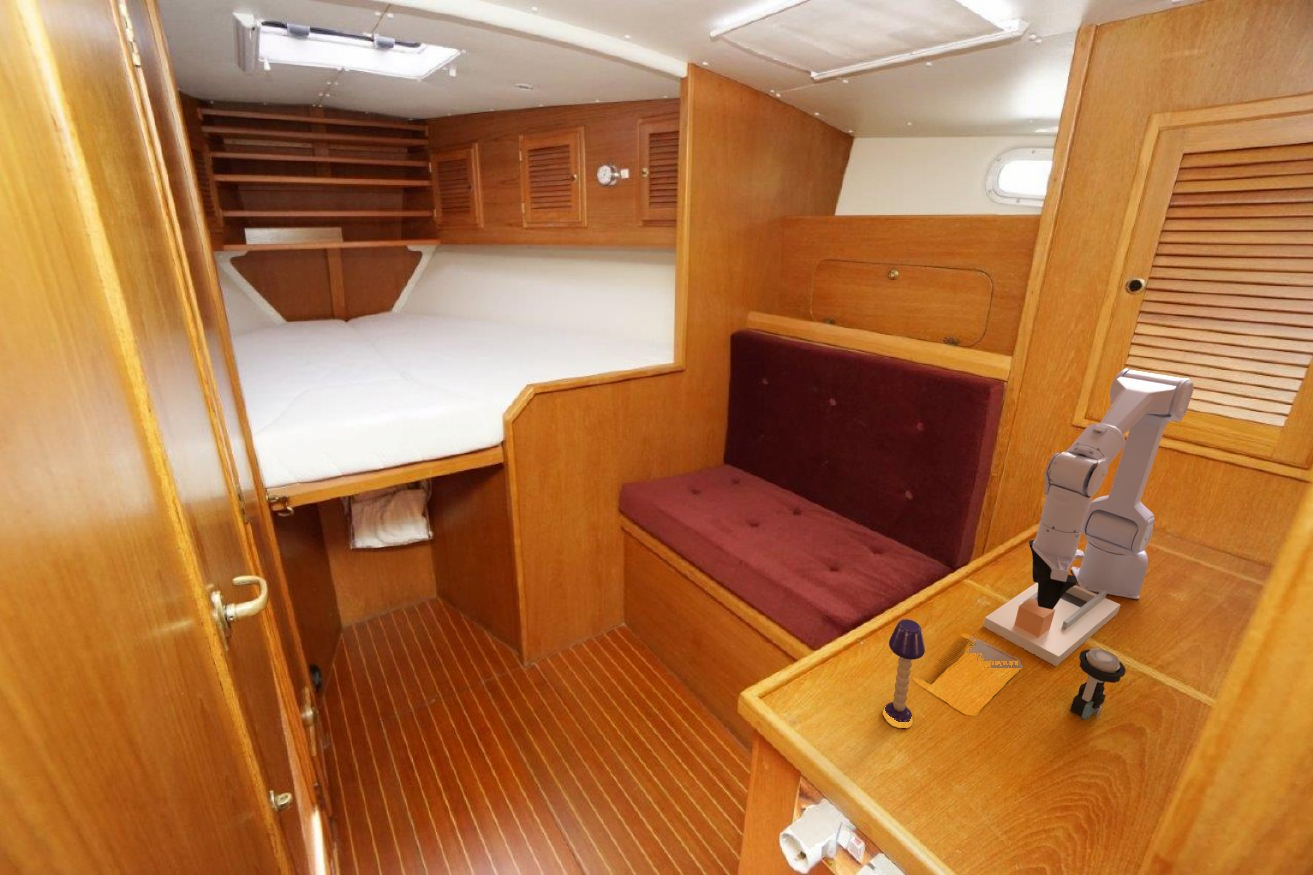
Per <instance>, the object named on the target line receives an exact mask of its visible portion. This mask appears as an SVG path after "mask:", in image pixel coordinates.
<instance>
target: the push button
mask: <svg viewBox="0 0 1313 875" xmlns="http://www.w3.org/2000/svg"><path fill="white" fill-rule="evenodd" d="M1078 659H1079V661H1080V662H1079V667H1080V669H1081V670H1082V672H1084V673H1085V674H1087V676H1088V677H1087V680H1086V681H1085V682H1084V683H1082V684H1080V686H1079V689H1078V694H1076V695H1075V696H1074V697H1073V699H1072V701H1071V705H1070V709H1069V710H1070V712H1072V713H1074V714H1075V715H1076V716H1078V717H1080V718H1081V719H1083V720H1085V721H1086V720H1088V719H1089V718H1090V717H1092V715H1093V714H1095V713H1096V712H1097V713H1096V715H1095V717H1096V718H1099V716H1100V715H1101V713H1102V710H1103V706H1102V705H1103V704H1104V703H1105V699H1106V697H1107V696H1106V694H1105V692H1104V691H1105V689H1106V688H1105V683H1111V684H1116V683H1118V682H1120V681H1121V678H1123V677H1124V676H1125V674H1126V671H1127V670H1126V666H1125V665H1124V664H1123V663H1122V662H1121V661H1120V660H1119V659H1120V658H1118V657H1117V655H1115V654H1114V653H1112V652H1111V651H1108V650H1105V649H1103V648H1097V647H1094V648H1090V649H1084V650H1082V651H1080V652H1079V655H1078Z"/></svg>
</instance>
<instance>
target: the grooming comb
mask: <svg viewBox="0 0 1313 875" xmlns="http://www.w3.org/2000/svg"><path fill="white" fill-rule="evenodd" d="M969 639H971V640H972V639H974V640H975V639H976V641H974V640H972V641H974V643H975V644H974V643H972V642H970V641H969V642H970V643H972V644H974V645H975V646H974V645H972V644H970V643H969V644H970V645H971V646H974V647H971V648H972V649H971V650H970V649H969V652H967V653H976V655H977V653H979V655H978V657H979V656H981V655H980V653H982V656H983V657H982V656H981V658H984V660H983V661H990V660H991V661H994V665H992V662H991V668H1008V667H1009V668H1023V669H1024V667H1023V664H1022V662H1021V660H1020V659H1019V658H1017V657H1015V656H1014V655H1011V654H1009V653H1008V652H1006V651H1004V650H1003V649H1000V648H998V647H995V646H994V645H991V644H989V643H987V642H985V641H983V640H981V639H979V638H976V637H975V638H974V636H972V638H971V637H969ZM978 639H979V640H978ZM970 645H969V646H970ZM962 650H963V649H962ZM963 651H964V650H963ZM963 651H962V652H963ZM977 661H978V658H977ZM981 661H982V660H981ZM995 661H1000V663H1001V661H1007V664H1008V665H1006V664H1005V665H1003V662H1002V663H1001V665H1002V666H1000V664H998V665H995ZM1009 661H1018V666H1017V665H1015V662H1013V665H1012V667H1011V665H1009ZM984 668H985V667H984ZM987 668H988V667H987Z"/></svg>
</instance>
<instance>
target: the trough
mask: <svg viewBox="0 0 1313 875" xmlns="http://www.w3.org/2000/svg"><path fill="white" fill-rule="evenodd" d="M1037 594H1038V583H1036V582H1034V584H1032V585H1031V586H1029V587H1027V588H1026V589H1025V590H1024V591H1021V593H1019V594H1017V595H1016V596H1015V597H1013V598H1011V599H1010V600H1008V601H1006V603H1004V604H1002V605H1001V606H1000V607H999V608H997V609H995V610H994V611H992V612H991V613H989V614H988V615H986V616H985V617H984V621H983V625H982V627H983V628H985V627H986V628H985V629H987V630H989V631H991V632H993V633H994V632H995V633H994V634H996V633H997V634H996V635H998V636H1000V637H1001V636H1002V637H1001V638H1003V637H1004V638H1003V639H1004V640H1007V641H1009V642H1011V643H1013V644H1014V645H1016V646H1018V647H1019V648H1022V647H1023V648H1024V649H1023V648H1022V649H1023V650H1025V649H1026V650H1025V651H1027V650H1028V651H1027V652H1029V653H1031V654H1033V655H1034V654H1035V655H1034V656H1037V657H1038V658H1040V659H1042V660H1043V661H1046V662H1048V663H1049V664H1051V665H1053V666H1055V667H1057V666H1058V665H1059V664H1061V663H1062V662H1063V661H1064V660H1065V659H1067V658H1068V657H1069V656H1070V655H1071V654H1072V653H1074V652H1075V651H1076V650H1077V649H1078V648H1079V647H1080V646H1081V645H1083V644H1084V643H1085V642H1086V641H1087V640H1089V639H1090V638H1091V637H1092V636H1093V635H1094V634H1096V633H1097V632H1098V631H1099V630H1100V629H1101V628H1102V627H1104V626H1105V625H1106V624H1107V623H1108V622H1110V620H1112V619H1113V618H1115V616H1116V615H1118V613H1119V610H1120V607H1121V604H1120V603H1117V601H1114V600H1111V599H1108V598H1106V597H1107V595H1108V594H1107V591H1106V590H1103V591H1101V592H1100V593H1099V592H1098V594H1097V593H1096V592H1093V591H1088V590H1086V589H1084V588H1081V587H1080V586H1079V585H1077V584H1076V585H1075V586H1073V587H1071V588H1070V589H1069V590H1067V591H1066V592H1065V593H1064V594H1063V595H1062V597H1061V598H1060V600H1059V601H1058V603H1057V604H1056V606H1055V607H1054V608H1053V609H1055V613H1054V616H1053V620H1052V623H1051V627H1050V629H1049V630H1048V631H1046V632H1045V633H1044V634H1043V635H1041V636H1040V637H1037V636H1035V635H1033V634H1031V633H1029V632H1027V631H1025V630H1023V629H1022V628H1020V627H1018V626H1016V625H1014V624H1015V620H1016V616H1017V612H1018V608H1019V606H1020V605H1021V604H1022V603H1024V602H1025V601H1027V600H1028V599H1030V598H1032V599H1034V600H1036V601H1037Z"/></svg>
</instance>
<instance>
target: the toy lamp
mask: <svg viewBox="0 0 1313 875" xmlns="http://www.w3.org/2000/svg"><path fill="white" fill-rule="evenodd" d="M888 642H889V643H888V646H889V649H890V650H891V651H892V653H894V654H895V655H896V656H898V659H897V660H898V661H897V663H898V665H897V669H896V673H897V674H896V676H895V684H894V689H895V690H894V692H893V701H891V702H888V703H887V704H886V705H885V706H886V707H885V706H884V707H885V711H886V713H887V714H888V715H889V716H890V717H892V718H894V720H896V721H898V722H909V721H910V719H911V717H912V715H913V713H912V711H911V709H910V708H909V707H908V706H907V702H906V701H907V699H908V693H909V684H910V682H911V679H910V676H911V668H912V665H913V661H914V660H920V659H921V658H922V657H924V655H925V652H926V647H925V640H924V635H923V630H922V627H921V625H920V624H919V623H918V622H917V621H915V620H913V619H908V618H907V619H906V618H905V619H900V621H898V622H897V624H896V626H895V628H894V629H893V632H892V634H891V636H890V638H889V641H888ZM912 660H913V661H912Z"/></svg>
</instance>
